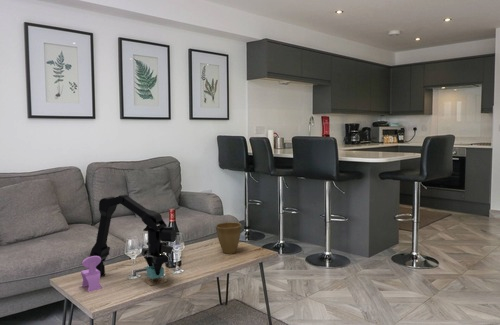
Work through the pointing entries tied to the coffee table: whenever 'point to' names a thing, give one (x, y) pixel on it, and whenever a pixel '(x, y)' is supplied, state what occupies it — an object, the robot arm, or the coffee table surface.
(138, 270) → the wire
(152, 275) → the teal socket block
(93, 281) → the toy chair
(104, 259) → the robot arm
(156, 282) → the peg
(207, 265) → the coffee table surface
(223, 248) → the plant pot
